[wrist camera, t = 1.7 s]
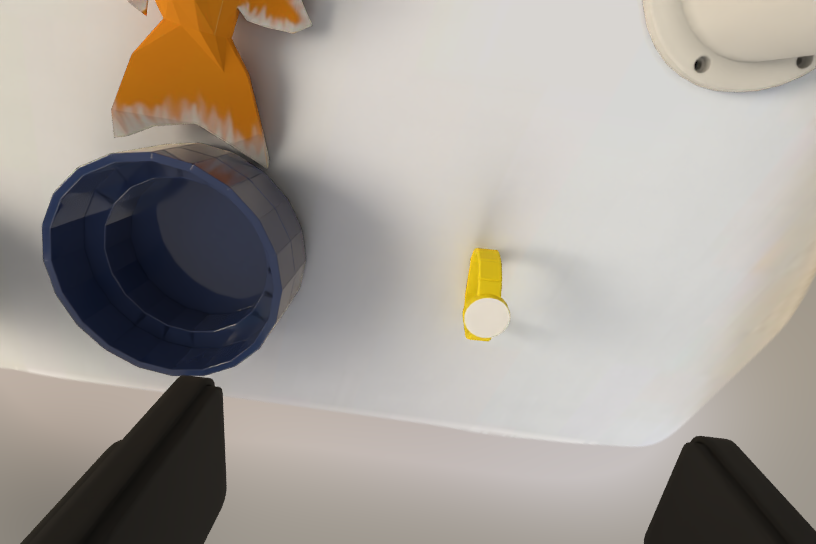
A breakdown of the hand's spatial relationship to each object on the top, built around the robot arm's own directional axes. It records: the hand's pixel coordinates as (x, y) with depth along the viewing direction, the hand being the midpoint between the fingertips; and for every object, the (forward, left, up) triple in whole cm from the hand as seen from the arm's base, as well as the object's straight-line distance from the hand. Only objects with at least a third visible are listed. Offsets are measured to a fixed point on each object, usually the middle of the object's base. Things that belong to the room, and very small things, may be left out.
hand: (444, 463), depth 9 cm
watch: (-3, +5, -23) cm, 23 cm away
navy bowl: (+16, +2, -22) cm, 28 cm away
